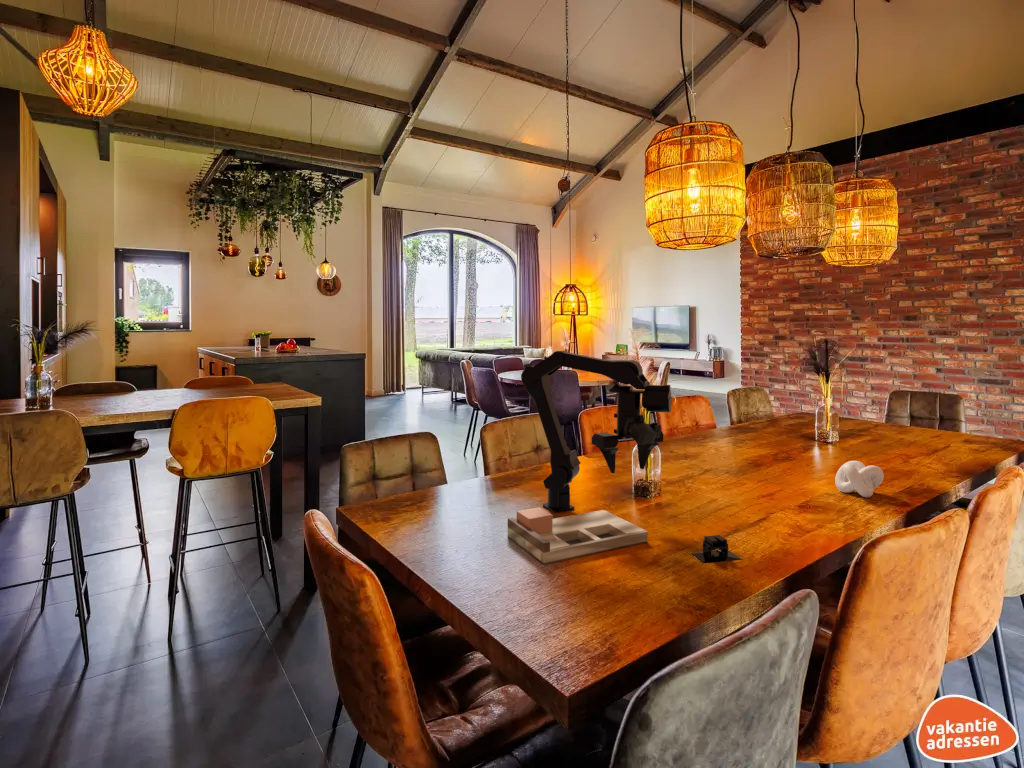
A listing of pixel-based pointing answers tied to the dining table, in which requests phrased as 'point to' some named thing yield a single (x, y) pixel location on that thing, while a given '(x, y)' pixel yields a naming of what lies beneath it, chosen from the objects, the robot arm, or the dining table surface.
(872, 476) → the white knot sculpture
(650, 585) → the dining table surface
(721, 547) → the black boxy piece
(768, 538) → the dining table surface
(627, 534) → the trap board
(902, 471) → the dining table surface
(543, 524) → the terracotta block
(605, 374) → the robot arm
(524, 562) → the dining table surface
